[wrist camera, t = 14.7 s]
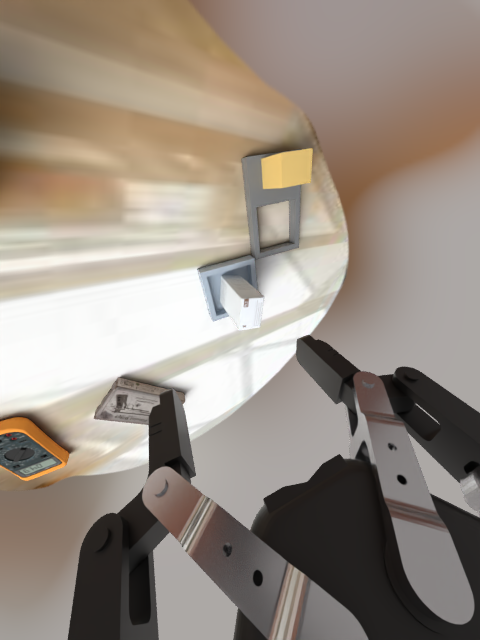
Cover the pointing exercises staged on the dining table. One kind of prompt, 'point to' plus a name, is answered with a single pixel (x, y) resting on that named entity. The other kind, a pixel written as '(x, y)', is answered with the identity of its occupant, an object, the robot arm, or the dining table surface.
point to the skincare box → (241, 302)
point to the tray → (212, 281)
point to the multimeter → (28, 449)
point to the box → (130, 402)
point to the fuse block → (275, 191)
